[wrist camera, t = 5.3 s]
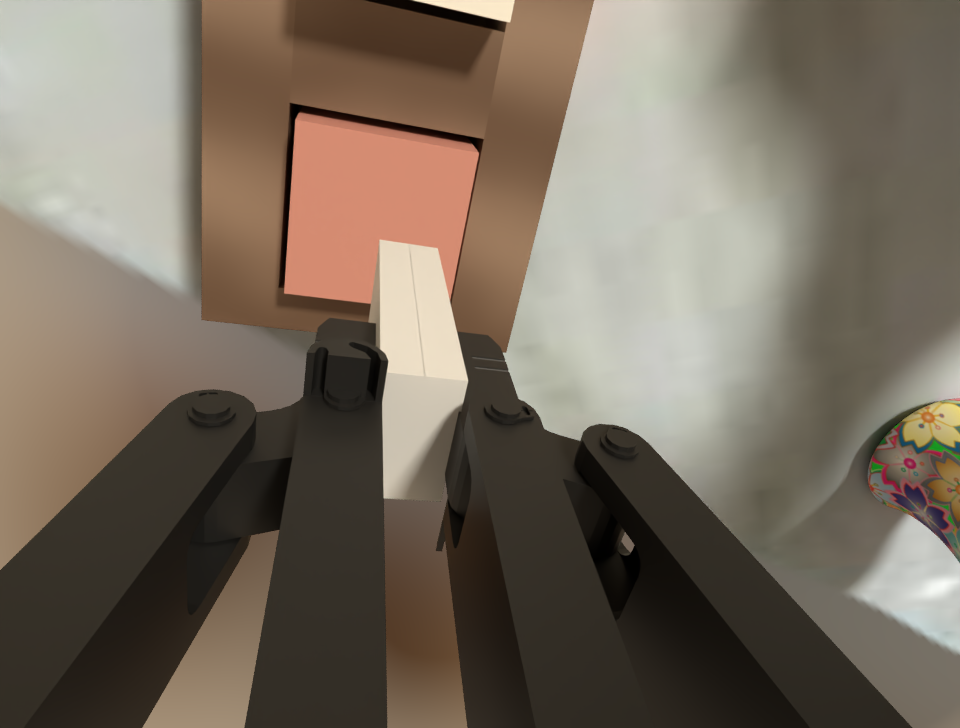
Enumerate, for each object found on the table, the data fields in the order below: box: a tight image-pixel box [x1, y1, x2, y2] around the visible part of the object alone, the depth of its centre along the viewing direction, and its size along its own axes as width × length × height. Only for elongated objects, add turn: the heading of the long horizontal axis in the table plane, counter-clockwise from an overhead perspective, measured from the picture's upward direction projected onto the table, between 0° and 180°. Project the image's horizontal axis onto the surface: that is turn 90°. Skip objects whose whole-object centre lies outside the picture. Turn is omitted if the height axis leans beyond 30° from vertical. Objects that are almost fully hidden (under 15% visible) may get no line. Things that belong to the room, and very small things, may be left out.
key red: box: [284, 105, 479, 304], centre depth 24 cm, size 6×6×4 cm
